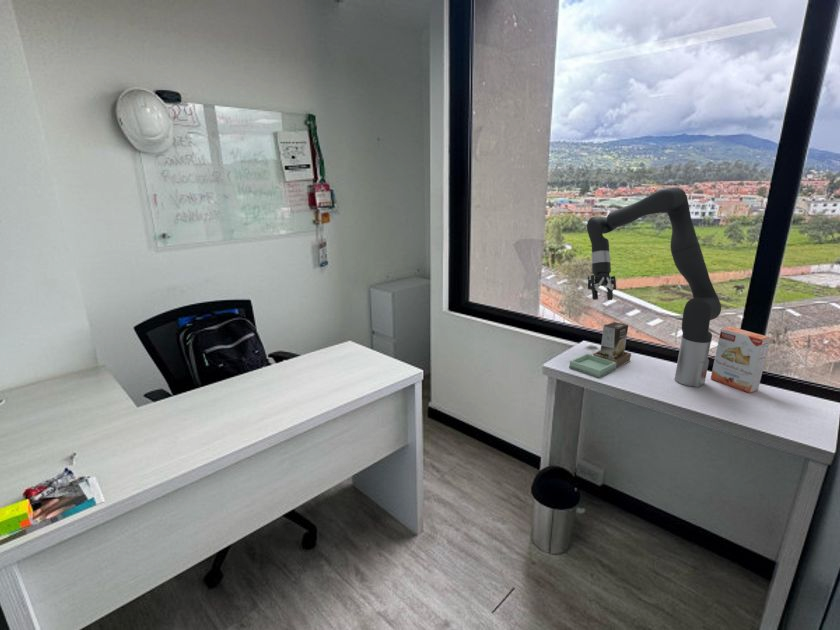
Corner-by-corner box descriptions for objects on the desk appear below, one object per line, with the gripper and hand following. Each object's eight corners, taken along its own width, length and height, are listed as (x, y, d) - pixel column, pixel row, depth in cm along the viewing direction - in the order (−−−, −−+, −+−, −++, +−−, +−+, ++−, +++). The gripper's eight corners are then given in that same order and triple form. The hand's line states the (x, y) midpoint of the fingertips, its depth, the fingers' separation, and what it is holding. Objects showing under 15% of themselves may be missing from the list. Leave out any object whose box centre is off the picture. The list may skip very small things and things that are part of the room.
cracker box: (709, 379, 170) (720, 327, 164) (718, 376, 173) (729, 325, 167) (749, 394, 158) (762, 339, 152) (758, 390, 161) (771, 336, 155)
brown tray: (629, 360, 188) (631, 353, 187) (615, 368, 180) (616, 360, 179) (607, 354, 195) (608, 346, 194) (592, 361, 187) (593, 353, 186)
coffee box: (613, 366, 182) (618, 329, 177) (598, 361, 187) (603, 325, 182) (623, 360, 188) (628, 324, 183) (609, 356, 192) (613, 321, 188)
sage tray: (615, 369, 179) (616, 362, 178) (599, 377, 171) (600, 370, 170) (586, 359, 188) (586, 353, 188) (569, 367, 180) (569, 360, 179)
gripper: (595, 260, 185) (597, 298, 184) (619, 261, 191) (621, 299, 190) (582, 263, 192) (583, 300, 191) (606, 264, 198) (607, 300, 197)
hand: (602, 299), depth 190 cm, fingers open, 8 cm apart
